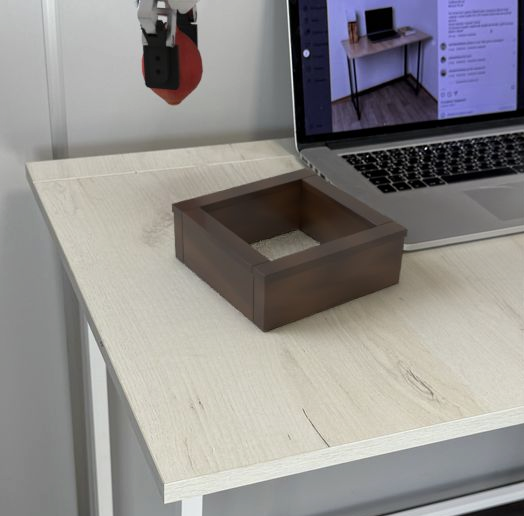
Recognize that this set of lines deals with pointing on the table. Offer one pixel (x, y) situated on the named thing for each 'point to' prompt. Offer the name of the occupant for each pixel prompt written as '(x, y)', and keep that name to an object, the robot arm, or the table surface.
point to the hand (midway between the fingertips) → (172, 74)
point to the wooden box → (294, 265)
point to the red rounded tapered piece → (183, 70)
